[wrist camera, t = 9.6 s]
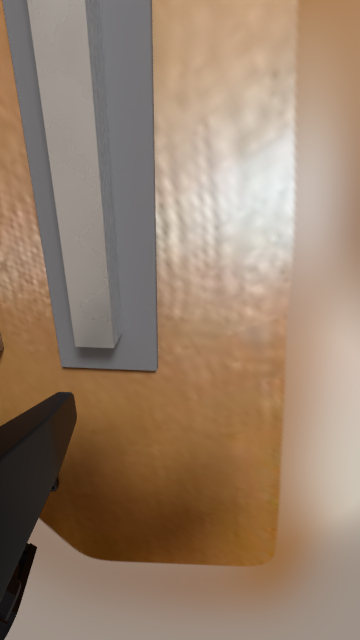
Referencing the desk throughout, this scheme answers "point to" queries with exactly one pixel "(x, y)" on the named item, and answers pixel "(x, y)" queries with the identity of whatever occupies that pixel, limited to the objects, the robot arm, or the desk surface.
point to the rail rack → (1, 344)
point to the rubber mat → (127, 175)
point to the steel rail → (80, 161)
